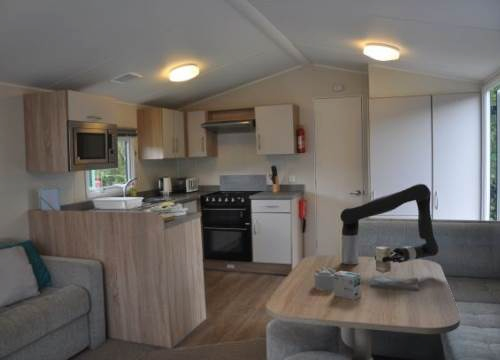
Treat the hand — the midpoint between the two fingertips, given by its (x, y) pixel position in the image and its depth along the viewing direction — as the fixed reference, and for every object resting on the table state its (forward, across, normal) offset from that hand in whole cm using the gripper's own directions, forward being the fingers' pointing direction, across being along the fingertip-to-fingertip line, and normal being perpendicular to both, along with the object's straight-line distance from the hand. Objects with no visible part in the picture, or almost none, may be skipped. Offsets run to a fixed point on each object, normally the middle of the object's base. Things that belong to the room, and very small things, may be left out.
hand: (379, 258), depth 214 cm
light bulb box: (+25, +6, +13) cm, 29 cm away
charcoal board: (-6, +4, +13) cm, 15 cm away
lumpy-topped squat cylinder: (+25, -11, +13) cm, 30 cm away
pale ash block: (-3, 0, +7) cm, 7 cm away
